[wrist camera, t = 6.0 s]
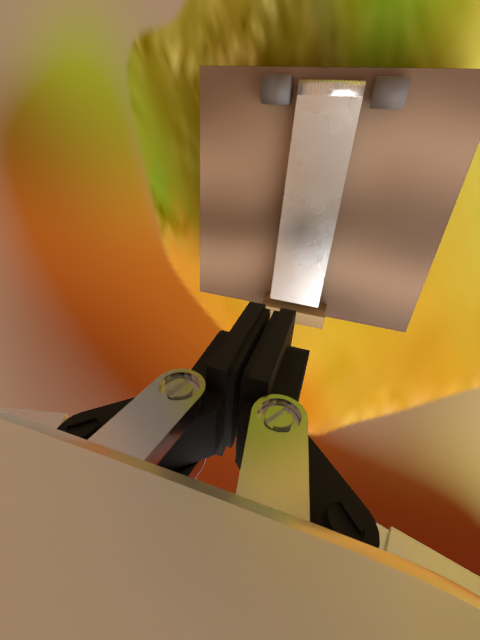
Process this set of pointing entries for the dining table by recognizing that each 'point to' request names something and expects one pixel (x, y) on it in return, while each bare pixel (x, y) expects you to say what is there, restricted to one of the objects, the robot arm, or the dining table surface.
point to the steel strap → (314, 185)
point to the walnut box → (359, 189)
